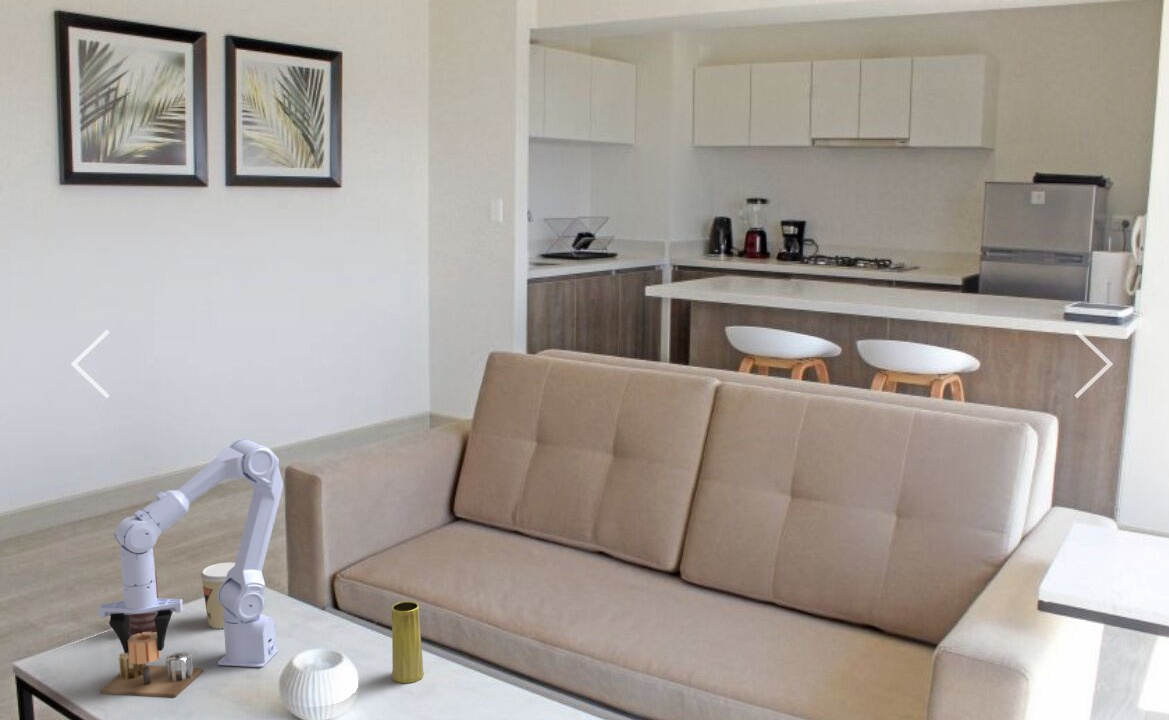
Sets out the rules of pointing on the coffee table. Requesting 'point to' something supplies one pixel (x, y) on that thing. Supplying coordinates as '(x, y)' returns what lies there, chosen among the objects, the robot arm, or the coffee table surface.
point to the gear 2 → (179, 666)
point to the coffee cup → (214, 592)
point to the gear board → (150, 683)
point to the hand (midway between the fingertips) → (144, 649)
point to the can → (143, 620)
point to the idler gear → (143, 648)
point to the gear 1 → (129, 667)
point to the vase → (406, 643)
